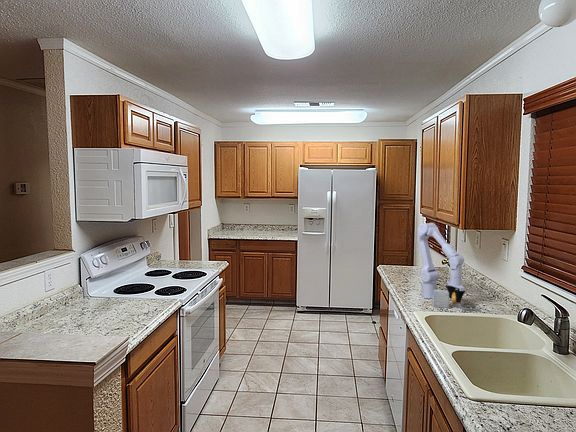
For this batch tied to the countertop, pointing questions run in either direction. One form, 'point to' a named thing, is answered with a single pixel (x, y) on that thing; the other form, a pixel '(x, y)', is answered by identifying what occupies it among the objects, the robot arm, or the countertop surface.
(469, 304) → the junction plate
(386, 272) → the countertop surface
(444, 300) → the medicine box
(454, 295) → the wire nut cap
